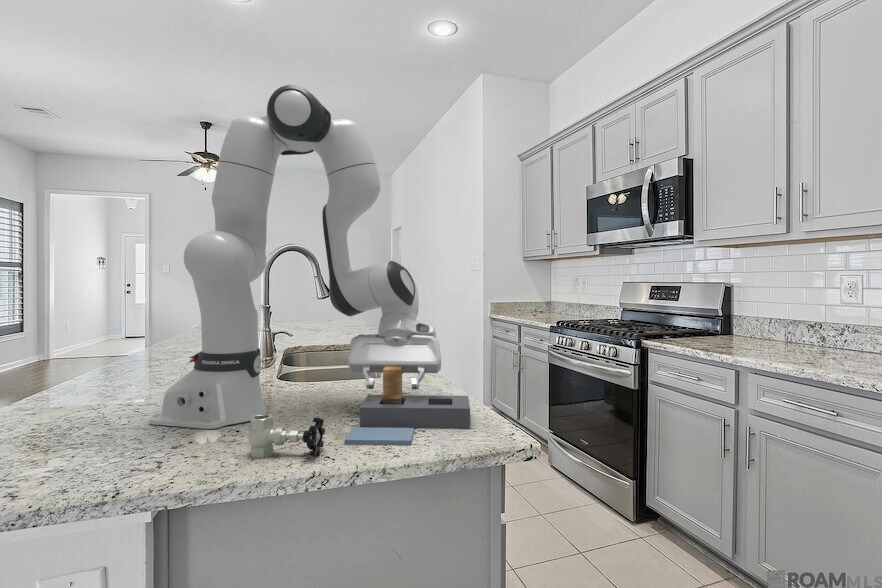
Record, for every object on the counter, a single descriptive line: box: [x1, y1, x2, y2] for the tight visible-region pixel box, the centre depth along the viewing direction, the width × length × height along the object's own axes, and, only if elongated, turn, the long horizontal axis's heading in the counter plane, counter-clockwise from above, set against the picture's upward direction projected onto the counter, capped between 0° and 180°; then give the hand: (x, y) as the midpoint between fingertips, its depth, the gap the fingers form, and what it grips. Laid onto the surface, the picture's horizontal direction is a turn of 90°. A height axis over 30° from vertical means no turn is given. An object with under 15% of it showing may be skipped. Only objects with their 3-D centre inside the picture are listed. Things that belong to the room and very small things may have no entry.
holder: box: [359, 394, 471, 429], centre depth 100 cm, size 22×10×4 cm, turn 89°
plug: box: [382, 366, 404, 405], centre depth 100 cm, size 4×4×11 cm
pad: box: [343, 426, 415, 446], centre depth 89 cm, size 12×7×1 cm, turn 89°
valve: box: [247, 413, 326, 459], centre depth 80 cm, size 7×7×12 cm
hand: (392, 387), depth 99 cm, fingers open, 8 cm apart
